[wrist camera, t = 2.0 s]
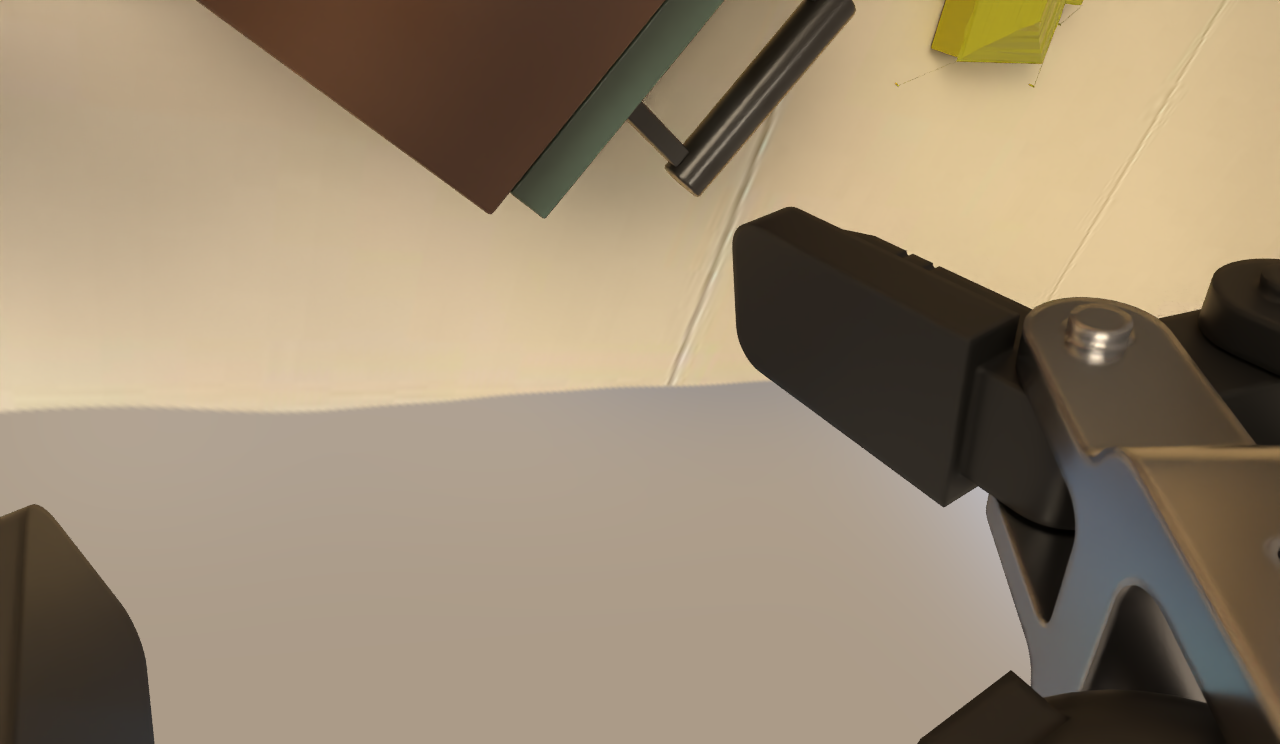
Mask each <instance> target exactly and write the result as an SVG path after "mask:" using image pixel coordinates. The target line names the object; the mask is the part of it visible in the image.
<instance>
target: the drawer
mask: <svg viewBox="0 0 1280 744" xmlns="http://www.w3.org/2000/svg"><path fill="white" fill-rule="evenodd" d="M723 2H724V0H665V1H664V2H663V3H662V5H661V6H660V7H659V8H658V10H657V11H656V12H655V13H654V15H653V16H652V17H651V18H650V19H649V21H648V22H647V23H646V24H645V26H644V27H643V28H642V29H641V31H640V32H639V33H638V34H637V36H636V37H635V38H634V39H633V40H632V42H631V43H630V44H629V45H628V47H627V48H626V49H625V50H624V52H623V53H622V54H621V55H620V57H619V58H618V59H617V60H616V62H615V63H614V64H613V65H612V66H611V68H610V69H609V70H608V71H607V73H606V74H605V75H604V76H603V78H602V79H601V80H600V81H599V83H598V84H597V85H596V86H595V87H594V89H593V90H592V91H591V92H590V94H589V95H588V96H587V97H586V99H585V100H584V101H583V102H582V104H581V105H580V106H579V107H578V109H577V110H576V111H575V112H574V113H573V115H572V116H571V117H570V118H569V120H568V121H567V122H566V123H565V125H564V126H563V127H562V128H561V130H560V131H559V132H558V133H557V134H556V136H555V137H554V138H553V139H552V141H551V142H550V143H549V144H548V146H547V147H546V148H545V149H544V151H543V152H542V153H541V154H540V156H539V157H538V158H537V159H536V160H535V162H534V163H533V164H532V165H531V167H530V168H529V169H528V170H527V172H526V173H525V174H524V175H523V177H522V178H521V179H520V180H519V181H518V183H517V184H516V185H515V186H514V188H513V189H512V190H511V191H510V193H511V194H512V195H513V196H515V197H516V198H517V199H519V200H520V201H521V202H522V203H524V204H525V205H526V206H528V207H529V208H530V209H531V210H533V211H534V212H535V213H537V214H538V215H539V216H540V217H542V218H546V217H547V216H548V215H549V214H550V212H551V211H552V210H553V209H554V207H555V206H556V205H557V204H558V203H559V201H560V200H561V199H562V198H563V196H564V195H565V194H566V193H567V192H568V190H569V189H570V188H571V187H572V185H573V184H574V183H575V182H576V181H577V179H578V178H579V177H580V176H581V175H582V173H583V172H584V171H585V170H586V168H587V167H588V166H589V165H590V164H591V162H592V161H593V160H594V159H595V157H596V156H597V155H598V154H599V153H600V151H601V150H602V149H603V148H604V147H605V145H606V144H607V143H608V142H609V140H610V139H611V138H612V137H613V136H614V134H615V133H616V132H617V131H618V129H619V128H620V127H621V126H622V125H623V123H624V122H625V121H626V120H627V121H628V122H629V123H630V124H631V125H632V126H633V127H634V128H635V129H636V130H637V131H638V132H639V133H640V134H641V135H642V136H643V137H644V138H645V139H646V140H647V141H648V142H649V143H650V144H651V145H652V146H653V147H654V148H655V149H656V150H657V151H658V152H659V153H660V154H661V155H662V156H663V157H664V158H665V159H666V160H667V161H668V163H667V164H666V165H665V169H666V171H667V172H668V173H669V174H670V175H671V176H672V177H673V178H674V179H675V180H676V181H677V182H678V183H679V184H680V185H682V186H683V187H684V188H685V189H686V190H687V191H689V192H690V193H691V194H693V195H694V196H696V197H699V196H701V194H702V193H703V192H704V191H705V190H706V188H707V187H708V186H709V185H710V184H711V183H712V181H713V180H714V179H715V178H716V177H717V176H718V174H719V173H720V172H721V171H722V170H723V168H724V167H725V166H726V165H727V164H728V163H729V161H730V160H731V159H732V158H733V157H734V156H735V154H736V153H737V152H738V151H739V150H740V148H741V147H742V146H743V145H744V144H745V143H746V141H747V140H748V139H749V138H750V137H751V136H752V134H753V133H754V132H755V131H756V130H757V128H758V127H759V126H760V125H761V124H762V123H763V121H764V120H765V119H766V118H767V117H768V116H769V114H770V113H771V112H772V111H773V110H774V108H775V107H776V106H777V105H778V104H779V103H780V101H781V100H782V99H783V98H784V97H785V96H786V94H787V93H788V92H789V91H790V90H791V88H792V87H793V86H794V85H795V84H796V83H797V81H798V80H799V79H800V78H801V77H802V76H803V74H804V73H805V72H806V71H807V70H808V68H809V67H810V66H811V65H812V64H813V63H814V61H815V60H816V59H817V58H818V57H819V56H820V54H821V53H822V52H823V51H824V50H825V48H826V47H827V46H828V45H829V44H830V43H831V41H832V40H833V39H834V38H835V37H836V36H837V34H838V33H839V32H840V31H841V30H842V28H843V27H844V26H845V25H846V24H847V23H848V21H849V20H850V19H851V18H852V17H853V16H854V14H855V11H856V8H855V5H854V3H853V1H852V0H803V1H802V2H801V4H800V5H799V6H798V7H797V8H796V10H795V11H794V12H793V13H792V14H791V16H790V17H789V18H788V19H787V20H786V22H785V23H784V24H783V25H782V26H781V28H780V29H779V30H778V31H777V32H776V34H775V35H774V36H773V37H772V38H771V40H770V41H769V42H768V43H767V44H766V46H765V47H764V48H763V49H762V50H761V51H760V53H759V54H758V55H757V56H756V57H755V59H754V60H753V61H752V62H751V63H750V65H749V66H748V67H747V68H746V69H745V71H744V72H743V73H742V74H741V75H740V77H739V78H738V79H737V80H736V81H735V83H734V84H733V85H732V86H731V87H730V89H729V90H728V91H727V92H726V93H725V94H724V96H723V97H722V98H721V99H720V100H719V102H718V103H717V104H716V105H715V106H714V108H713V109H712V110H711V111H710V112H709V114H708V115H707V116H706V117H705V118H704V120H703V121H702V122H701V123H700V124H699V126H698V127H697V128H696V129H695V130H694V132H693V133H692V134H691V135H690V136H689V138H688V139H687V140H686V141H685V142H684V143H683V144H682V143H681V142H680V141H679V140H678V139H677V138H676V137H675V136H674V135H673V134H672V133H671V131H670V130H669V129H668V128H667V127H666V126H665V125H664V124H663V123H662V122H661V121H660V120H659V119H658V118H657V117H656V116H655V115H654V114H653V113H652V111H651V110H650V109H649V108H648V107H647V106H646V105H645V104H644V103H643V102H642V100H643V99H644V98H645V97H646V95H647V94H648V93H649V92H650V90H651V89H652V88H653V87H654V86H655V84H656V83H657V82H658V81H659V79H660V78H661V77H662V76H663V75H664V73H665V72H666V71H667V70H668V69H669V67H670V66H671V65H672V64H673V62H674V61H675V60H676V59H677V58H678V56H679V55H680V54H681V53H682V51H683V50H684V49H685V48H686V47H687V45H688V44H689V43H690V42H691V40H692V39H693V38H694V37H695V36H696V34H697V33H698V32H699V31H700V30H701V28H702V27H703V26H704V25H705V23H706V22H707V21H708V20H709V19H710V17H711V16H712V15H713V14H714V12H715V11H716V10H717V9H718V8H719V6H720V5H721V4H722V3H723Z"/></svg>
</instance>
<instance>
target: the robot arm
mask: <svg viewBox="0 0 1280 744" xmlns="http://www.w3.org/2000/svg"><path fill="white" fill-rule="evenodd" d="M732 251H733V271H734V292H735V312H736V329H737V335H738V339H739V342H740V345H741V347H742V349H743V351H744V353H745V355H746V357H747V358H748V360H749V361H750V362H751V364H752V365H753V366H754V367H755V368H756V369H757V370H758V371H759V372H761V373H762V374H763V375H765V376H766V377H767V378H769V379H770V380H771V381H773V382H774V383H776V384H777V385H778V386H780V387H781V388H782V389H784V390H785V391H787V392H788V393H789V394H790V395H792V396H793V397H795V398H796V399H797V400H799V401H800V402H801V403H803V404H804V405H805V406H807V407H808V408H809V409H811V410H812V411H814V412H815V413H816V414H818V415H819V416H821V417H822V418H823V419H824V420H826V421H827V422H828V423H830V424H831V425H832V426H834V427H835V428H837V429H838V430H839V431H841V432H842V433H843V434H845V435H846V436H847V437H849V438H850V439H852V440H853V441H854V442H856V443H857V444H859V445H860V446H861V447H862V448H864V449H865V450H867V451H868V452H869V453H870V454H872V455H873V456H875V457H876V458H877V459H879V460H880V461H882V462H883V463H884V464H885V465H887V466H888V467H889V468H891V469H892V470H894V471H895V472H896V473H898V474H899V475H900V476H902V477H903V478H904V479H906V480H907V481H909V482H910V483H911V484H912V485H914V486H915V487H917V488H918V489H919V490H921V491H922V492H923V493H925V494H926V495H928V496H929V497H930V498H932V499H933V500H934V501H936V502H937V503H938V504H940V505H941V506H942V507H946V506H947V505H949V504H950V503H952V502H953V501H955V500H957V499H958V498H960V497H961V496H963V495H965V494H966V493H968V492H969V491H971V490H972V489H974V488H976V487H977V486H979V487H980V488H982V489H983V490H985V491H986V492H987V493H989V496H988V501H987V506H986V515H987V519H988V523H989V526H990V529H991V532H992V535H993V538H994V541H995V545H996V548H997V551H998V554H999V557H1000V560H1001V563H1002V566H1003V569H1004V573H1005V576H1006V579H1007V582H1008V585H1009V588H1010V591H1011V594H1012V597H1013V600H1014V604H1015V607H1016V610H1017V613H1018V616H1019V619H1020V622H1021V625H1022V629H1023V632H1024V634H1025V638H1026V641H1027V645H1028V649H1029V655H1030V663H1031V687H1030V686H1029V685H1028V684H1026V683H1025V682H1024V681H1023V680H1022V679H1021V678H1019V677H1018V676H1017V675H1016V674H1015V673H1014V672H1012V671H1009V672H1008V673H1007V674H1005V675H1004V676H1003V677H1001V678H1000V679H999V680H998V681H996V682H995V683H994V684H992V685H991V686H990V687H988V688H987V689H986V690H984V691H983V692H982V693H980V694H979V695H978V696H976V697H975V698H974V699H973V700H971V701H970V702H969V703H967V704H966V705H965V706H963V707H962V708H961V709H959V710H958V711H957V712H955V713H954V714H953V715H951V716H950V717H949V718H948V719H946V720H945V721H944V722H942V723H941V724H940V725H938V726H937V727H936V728H934V729H933V730H932V731H930V732H929V733H928V734H927V735H925V736H924V737H922V738H921V739H920V741H919V742H918V744H1280V259H1249V260H1241V261H1237V262H1232V263H1230V264H1227V265H1224V266H1223V267H1221V268H1219V269H1218V270H1217V271H1216V272H1215V273H1214V275H1213V278H1212V280H1211V283H1210V286H1209V289H1208V292H1207V294H1206V297H1205V300H1204V303H1203V306H1202V309H1200V310H1196V311H1191V312H1186V313H1182V314H1177V315H1173V316H1168V317H1163V318H1159V319H1158V318H1156V317H1155V316H1153V315H1151V314H1149V313H1148V312H1146V311H1143V310H1141V309H1139V308H1137V307H1134V306H1131V305H1128V304H1125V303H1121V302H1117V301H1113V300H1107V299H1101V298H1090V297H1072V298H1062V299H1057V300H1052V301H1049V302H1046V303H1043V304H1041V305H1039V306H1037V307H1035V308H1034V309H1033V310H1032V309H1030V308H1028V307H1026V306H1024V305H1022V304H1019V303H1017V302H1015V301H1013V300H1011V299H1009V298H1007V297H1004V296H1002V295H1000V294H998V293H996V292H994V291H992V290H989V289H987V288H985V287H983V286H981V285H979V284H977V283H974V282H972V281H970V280H968V279H966V278H964V277H961V276H959V275H957V274H955V273H953V272H951V271H949V270H946V269H944V268H942V267H940V266H939V267H937V268H934V266H933V263H931V262H929V261H927V260H925V259H923V258H921V257H919V256H916V255H914V254H911V255H909V256H908V255H907V252H906V250H903V249H901V248H899V247H897V246H895V245H893V244H891V243H888V242H886V241H884V240H882V239H880V238H878V237H876V236H872V235H867V234H863V233H858V232H853V231H848V230H843V229H840V228H838V227H836V226H834V225H832V224H830V223H828V222H826V221H824V220H822V219H819V218H817V217H815V216H813V215H811V214H809V213H807V212H805V211H803V210H801V209H798V208H795V207H786V208H783V209H781V210H778V211H776V212H773V213H771V214H768V215H766V216H763V217H761V218H758V219H756V220H753V221H751V222H748V223H746V224H743V225H741V226H739V227H738V228H737V230H736V231H735V234H734V237H733V242H732ZM0 744H154V735H153V725H152V715H151V706H150V695H149V685H148V676H147V666H146V659H145V655H144V651H143V647H142V644H141V641H140V639H139V636H138V633H137V631H136V629H135V627H134V625H133V622H132V621H131V619H130V617H129V615H128V613H127V612H126V610H125V609H124V607H123V606H122V604H121V603H120V602H119V600H118V599H117V598H116V596H115V595H114V594H113V593H112V591H111V590H110V589H109V588H108V586H107V585H106V584H105V583H104V581H103V580H102V579H101V577H100V576H99V575H98V573H97V572H96V571H95V570H94V568H93V567H92V566H91V565H90V563H89V562H88V561H87V559H86V558H85V557H84V555H83V554H82V553H81V552H80V550H79V549H78V548H77V546H76V545H75V544H74V543H73V541H72V540H71V539H70V537H69V536H68V535H67V534H66V532H65V531H64V530H63V528H62V527H61V526H60V525H59V523H58V522H57V521H56V520H55V518H54V517H53V516H52V515H51V514H50V513H49V512H48V511H47V510H45V509H44V508H43V507H41V506H39V505H35V504H33V505H30V506H27V507H25V508H22V509H19V510H17V511H14V512H12V513H9V514H7V515H5V516H2V517H0Z"/></svg>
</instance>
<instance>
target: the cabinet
mask: <svg viewBox="0 0 1280 744" xmlns="http://www.w3.org/2000/svg"><path fill="white" fill-rule="evenodd" d="M196 1H198V2H199V3H200V4H202V5H203V6H204V7H206V8H207V9H209V10H210V11H211V12H213V13H214V14H215V15H217V16H218V17H219V18H221V19H222V20H224V21H225V22H226V23H228V24H229V25H230V26H232V27H233V28H235V29H236V30H237V31H239V32H240V33H241V34H243V35H244V36H245V37H247V38H248V39H250V40H251V41H252V42H254V43H255V44H256V45H258V46H259V47H260V48H262V49H263V50H265V51H266V52H267V53H269V54H270V55H271V56H273V57H274V58H276V59H277V60H278V61H280V62H281V63H282V64H284V65H285V66H286V67H288V68H289V69H291V70H292V71H293V72H295V73H296V74H297V75H299V76H300V77H302V78H303V79H304V80H306V81H307V82H308V83H310V84H311V85H312V86H314V87H315V88H317V89H318V90H319V91H321V92H322V93H323V94H325V95H326V96H328V97H329V98H330V99H332V100H333V101H334V102H336V103H337V104H338V105H340V106H341V107H343V108H344V109H345V110H347V111H348V112H349V113H351V114H352V115H354V116H355V117H356V118H358V119H359V120H360V121H362V122H363V123H364V124H366V125H367V126H369V127H370V128H371V129H373V130H374V131H375V132H377V133H378V134H380V135H381V136H382V137H384V138H385V139H386V140H388V141H389V142H390V143H392V144H393V145H395V146H396V147H397V148H399V149H400V150H401V151H403V152H404V153H406V154H407V155H408V156H410V157H411V158H412V159H414V160H415V161H416V162H418V163H419V164H421V165H422V166H423V167H425V168H426V169H427V170H429V171H430V172H432V173H433V174H434V175H436V176H437V177H438V178H440V179H441V180H442V181H444V182H445V183H447V184H448V185H449V186H451V187H452V188H453V189H455V190H456V191H458V192H459V193H460V194H462V195H463V196H464V197H466V198H467V199H468V200H470V201H471V202H473V203H474V204H475V205H477V206H478V207H479V208H481V209H482V210H484V211H485V212H486V213H488V214H492V213H493V212H494V211H495V210H496V209H497V207H498V206H499V205H500V204H501V203H502V201H503V200H504V199H505V198H506V196H507V195H508V194H509V193H510V191H511V190H512V189H513V188H514V186H515V185H516V184H517V183H518V181H519V180H520V179H521V178H522V177H523V175H524V174H525V173H526V172H527V170H528V169H529V168H530V167H531V165H532V164H533V163H534V162H535V160H536V159H537V158H538V157H539V156H540V154H541V153H542V152H543V151H544V149H545V148H546V147H547V146H548V144H549V143H550V142H551V141H552V139H553V138H554V137H555V136H556V134H557V133H558V132H559V131H560V130H561V128H562V127H563V126H564V125H565V123H566V122H567V121H568V120H569V118H570V117H571V116H572V115H573V113H574V112H575V111H576V110H577V109H578V107H579V106H580V105H581V104H582V102H583V101H584V100H585V99H586V97H587V96H588V95H589V94H590V92H591V91H592V90H593V89H594V87H595V86H596V85H597V84H598V83H599V81H600V80H601V79H602V78H603V76H604V75H605V74H606V73H607V71H608V70H609V69H610V68H611V66H612V65H613V64H614V63H615V62H616V60H617V59H618V58H619V57H620V55H621V54H622V53H623V52H624V50H625V49H626V48H627V47H628V45H629V44H630V43H631V42H632V40H633V39H634V38H635V37H636V36H637V34H638V33H639V32H640V31H641V29H642V28H643V27H644V26H645V24H646V23H647V22H648V21H649V19H650V18H651V17H652V16H653V15H654V13H655V12H656V11H657V10H658V8H659V7H660V6H661V5H662V3H663V2H664V1H665V0H196Z"/></svg>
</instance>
